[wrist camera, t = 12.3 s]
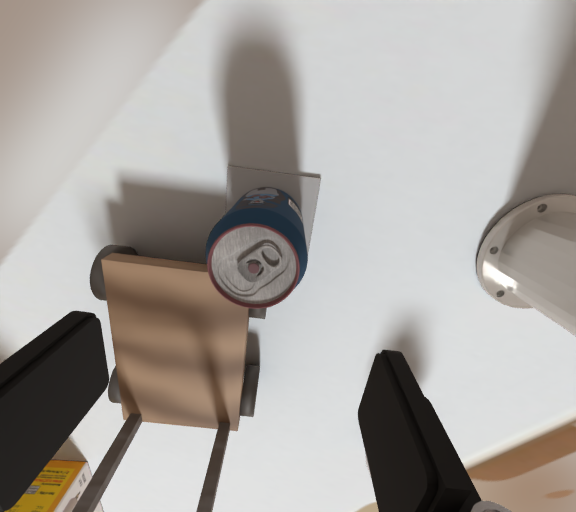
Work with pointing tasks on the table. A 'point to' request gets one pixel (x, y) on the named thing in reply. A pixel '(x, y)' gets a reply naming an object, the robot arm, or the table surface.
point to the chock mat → (293, 185)
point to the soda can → (258, 249)
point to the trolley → (171, 356)
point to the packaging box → (56, 488)
